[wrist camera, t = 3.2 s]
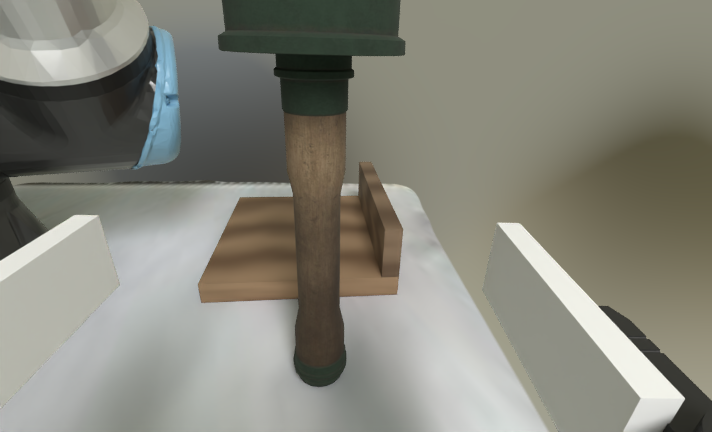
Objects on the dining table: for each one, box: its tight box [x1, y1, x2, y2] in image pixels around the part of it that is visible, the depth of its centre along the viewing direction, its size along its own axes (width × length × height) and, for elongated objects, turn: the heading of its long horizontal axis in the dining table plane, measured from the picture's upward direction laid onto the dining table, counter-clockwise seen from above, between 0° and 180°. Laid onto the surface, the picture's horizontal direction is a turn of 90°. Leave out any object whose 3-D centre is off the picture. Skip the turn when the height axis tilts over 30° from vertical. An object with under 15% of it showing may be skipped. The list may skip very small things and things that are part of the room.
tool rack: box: [198, 162, 403, 303], centre depth 41 cm, size 20×18×7 cm
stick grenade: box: [218, 0, 405, 387], centre depth 20 cm, size 8×9×30 cm
